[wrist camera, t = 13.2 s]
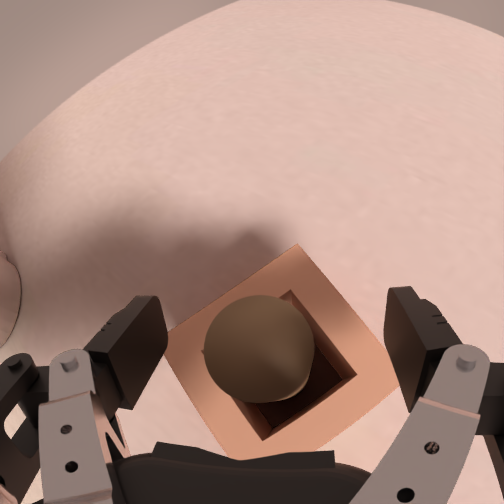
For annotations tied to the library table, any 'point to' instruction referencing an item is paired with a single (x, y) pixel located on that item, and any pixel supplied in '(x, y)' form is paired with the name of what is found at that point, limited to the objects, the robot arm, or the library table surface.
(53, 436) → the robot arm
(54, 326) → the library table surface
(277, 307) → the walnut peg
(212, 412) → the terracotta hollow square block
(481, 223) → the library table surface
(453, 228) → the library table surface
